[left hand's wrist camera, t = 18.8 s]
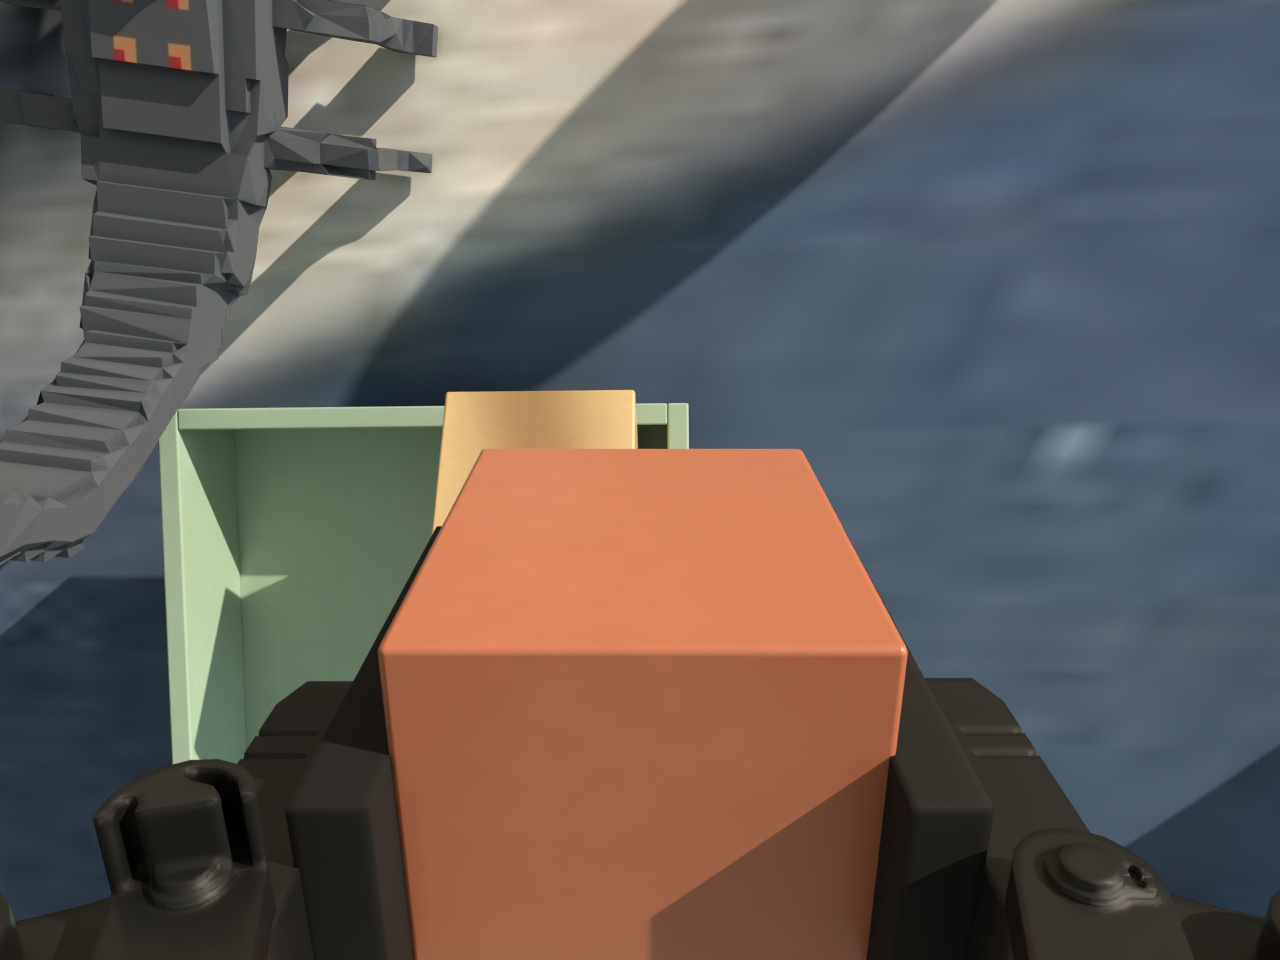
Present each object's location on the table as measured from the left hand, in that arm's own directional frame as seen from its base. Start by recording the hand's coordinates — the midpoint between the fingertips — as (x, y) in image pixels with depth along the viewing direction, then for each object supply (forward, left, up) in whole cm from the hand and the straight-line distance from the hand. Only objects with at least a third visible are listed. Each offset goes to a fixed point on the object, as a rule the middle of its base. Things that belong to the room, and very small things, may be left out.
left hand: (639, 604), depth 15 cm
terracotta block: (0, 0, 0) cm, 0 cm away
